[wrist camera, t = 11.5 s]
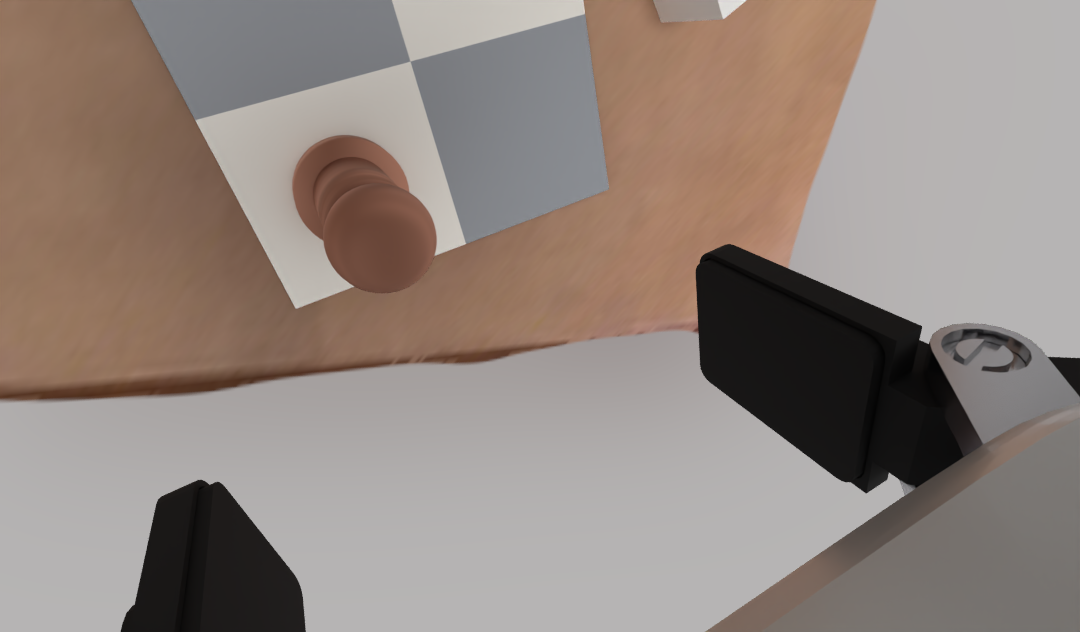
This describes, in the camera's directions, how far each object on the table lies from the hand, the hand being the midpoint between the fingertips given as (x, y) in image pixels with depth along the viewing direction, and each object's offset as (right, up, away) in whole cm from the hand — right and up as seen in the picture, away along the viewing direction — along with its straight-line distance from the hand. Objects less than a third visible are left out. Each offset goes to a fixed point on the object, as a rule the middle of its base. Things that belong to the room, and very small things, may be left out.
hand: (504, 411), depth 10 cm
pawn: (-9, +8, +16) cm, 20 cm away
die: (+8, +21, +19) cm, 30 cm away
